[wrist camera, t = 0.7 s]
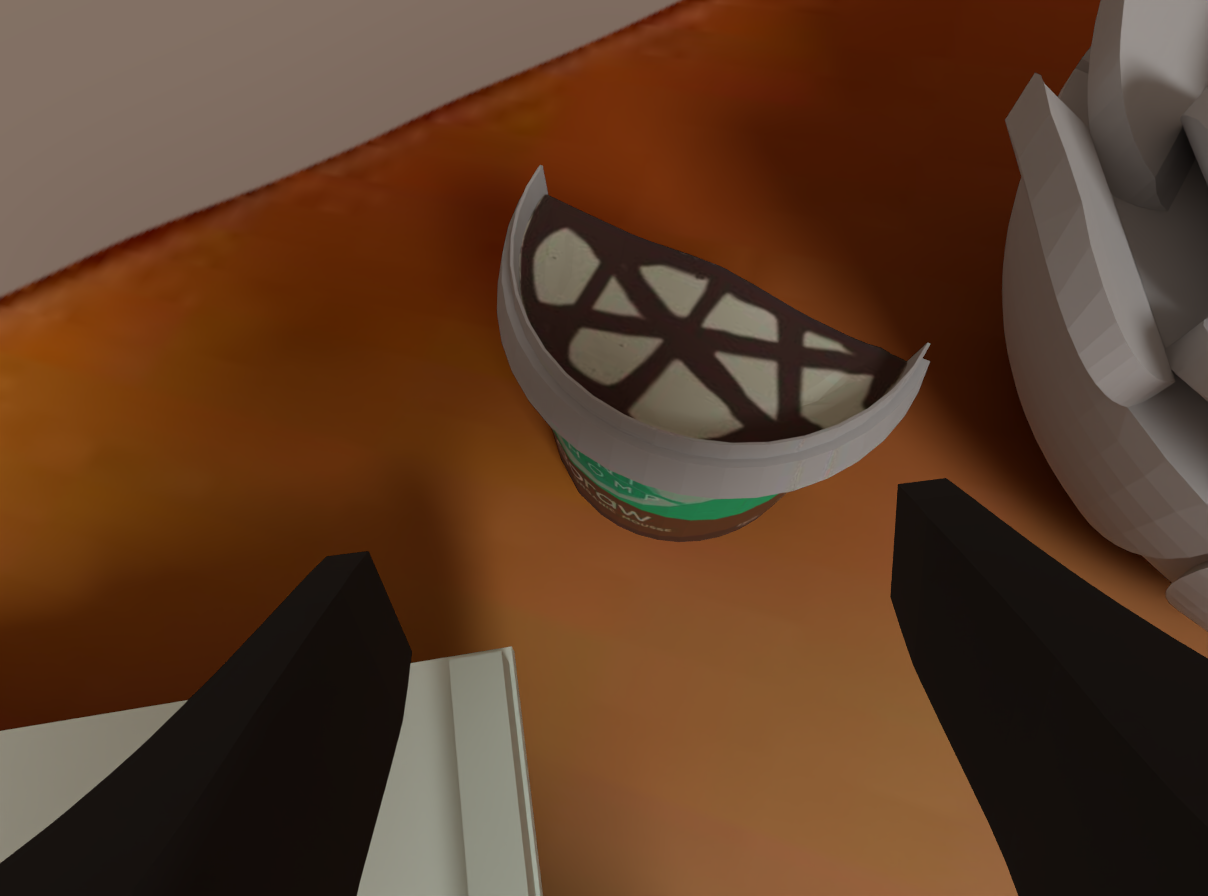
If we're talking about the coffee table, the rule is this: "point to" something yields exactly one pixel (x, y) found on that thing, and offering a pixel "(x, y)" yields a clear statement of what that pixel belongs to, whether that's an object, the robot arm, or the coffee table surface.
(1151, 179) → the decorative bowl
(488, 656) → the lid
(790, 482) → the food container
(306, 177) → the coffee table surface
